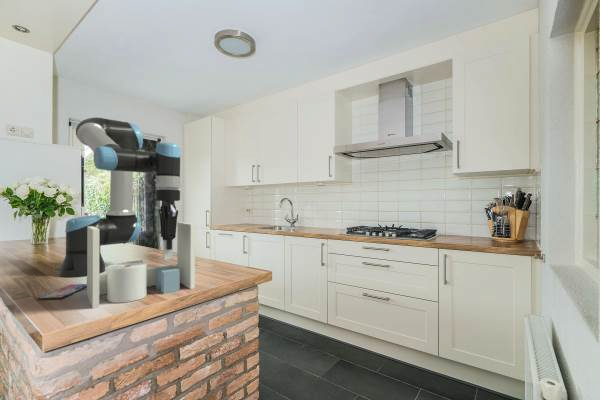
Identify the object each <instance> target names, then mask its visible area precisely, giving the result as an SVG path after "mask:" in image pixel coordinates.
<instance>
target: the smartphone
mask: <svg viewBox="0 0 600 400" xmlns="http://www.w3.org/2000/svg"><path fill="white" fill-rule="evenodd" d="M81 290H82V291H84V290H87V283H83V284H81V283H80V284H70V285H66V286H64V287H62V288H59V289H57V290H54V291H52V292H49V293H46V294H44V295H41V296H40V297H37V299H36V300H37V301H58V300H59V301H60V300H65V299H66V298H67V299H68V297H71V296H73V295H75V294H77V292H78V293H80V292H82V291H81ZM79 291H80V292H79ZM74 293H75V294H74Z"/></svg>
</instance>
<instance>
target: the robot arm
mask: <svg viewBox="0 0 600 400" xmlns="http://www.w3.org/2000/svg"><path fill="white" fill-rule="evenodd" d="M75 135H76V138H77V139H78V140H79V142H80V143H81V144H82V145H84V146H87V147H89V148H90V150H91V151H92V152H93V163H94V167H95V168H96V169H98V170H103V171H107V172H110V182H109V183H110V190H109V210H108V211H107V212H105V218H104V217H103V218H102V217H101V215H99V214H98V215H97V214H96V215H94V214H93V215H86V216H78V217H72V218H70V219H68V220H67V221H66V223H65V230H64V232H65V256H64V259H63V262H62V264H61V267H60V270H59V276H60V277H66V278H68V277H69V278H73V277H74V278H75V277H76V278H77V277H87V226H94V227H96V228H98V229H99V274H100V273H103V272H105V271H106V264H105V261H104V258H103V256H102V252H101V246H108V245H109V246H111V245H118V244H123V245H125V244H128V243H133V242H136V241H137V240H138V238H139V236H140V233H141V229H142V226H141V225H142V224H141V219H140V217H138V216H137V214H136V212H135V211H134V210H133V192H134V191H133V190H134V189H133V188H134V187H133V186H134V185H133V182H134V173H145V174H148V175H149V174H150V175H155V178H154V180H153V181H154V182H155V188H156V190H155V200H156V201H158V202H161V205H160V208H159V209H158V216H159V227H160V237H161V238H162V260H165V261H166V260H173V258H174V248H173V247H174V243H173V242H174V240H175V239H176V236H177V222H178V216H179V210H178V209H177V206H176V203H175V202H179V201H180V200H181V191H180V190H179V189H181V157H182V156H181V147H180V145H179V144H177V143H173V142H159V143H156V145H155V146H156V147H155V151H146V150H142V148H143V143H144V140H143V139H144V137H143V133H142V130H141V128H140V127H139V125H137V124H134V123H131V122H128V121H120V120H114V119H109V118H103V117H89V118H86V119H83V120H82V121H80V122H79V123H78V124H77V125H76V128H75Z"/></svg>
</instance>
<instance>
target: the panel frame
mask: <svg viewBox="0 0 600 400" xmlns="http://www.w3.org/2000/svg"><path fill="white" fill-rule="evenodd" d="M176 236H177V240H176V241H177V245H176V249H177V253H176V254H177V261H176V263H177V264H170V265H168V266H173V267H174V269H176V268H177V269H179V270H180V284H182V285H183V286H185V287H186V288H188V289H190V290H192V289H193V290H194V289H195V288H196V224H194V223H189V222H183V221H177V225H176ZM166 266H167V265H164V266H161V267H166ZM158 267H159V266H157V267H156V266H155V267H148V268H147V273H146V274H147V279H146V281H147V283H146V285H147V287H152V286H156V268H158ZM86 284H87V288H86V297H87V299H88V301H89V303H90V305H91V307H92V309H95V308H100V295H106V294H107V273H105V274H100V273H99V229H98V228H96V227H94V226H87V276H86Z"/></svg>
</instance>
